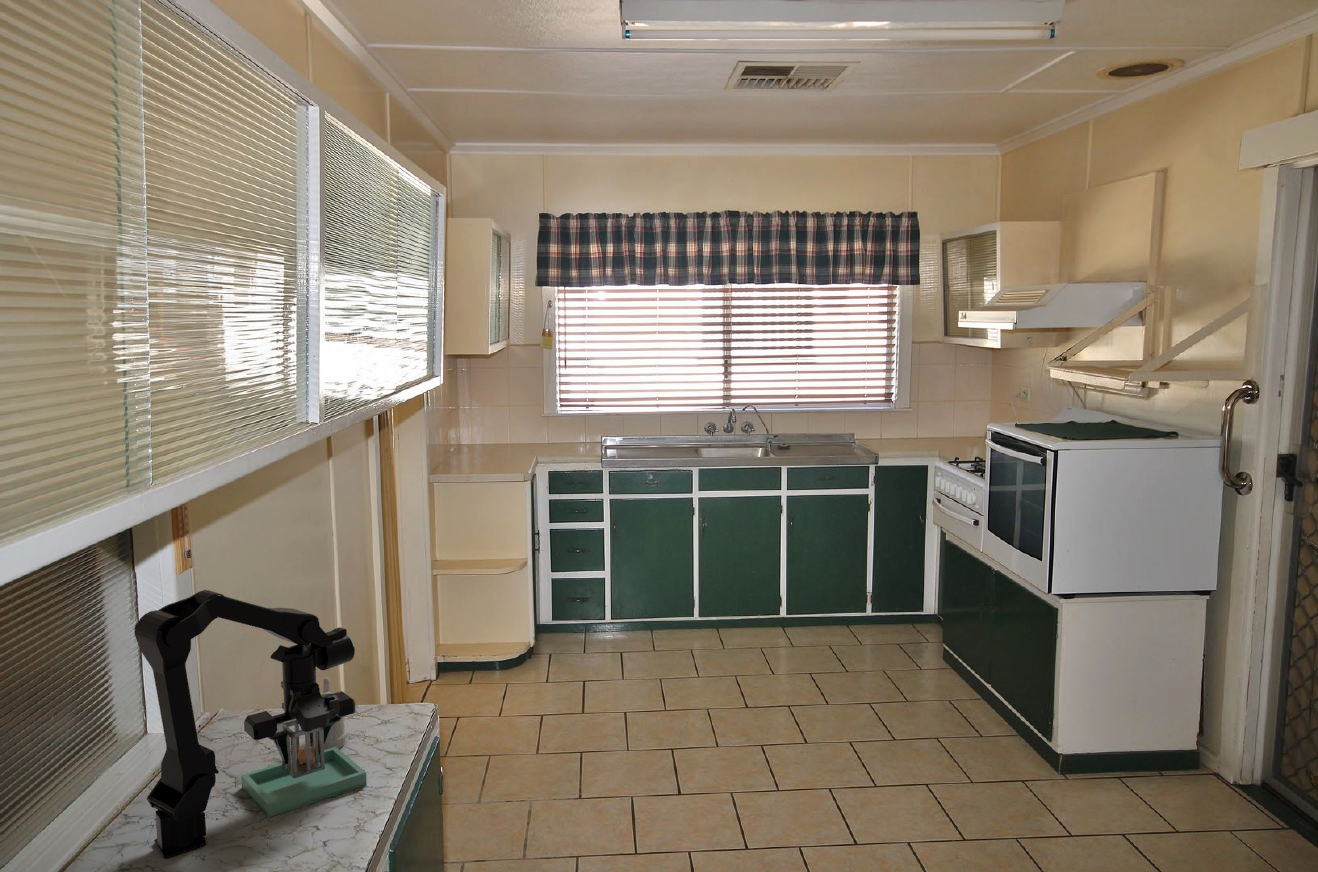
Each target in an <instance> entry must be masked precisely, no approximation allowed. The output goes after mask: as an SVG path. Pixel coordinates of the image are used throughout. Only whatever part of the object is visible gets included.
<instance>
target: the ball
mask: <svg viewBox="0 0 1318 872" xmlns="http://www.w3.org/2000/svg"><path fill="white" fill-rule="evenodd" d="M314 755H315V752H314V750H313V749H312V748H311V747H310V760H311V761H312V760H313V758H314ZM297 756H298V760H299V761H300V762H302V763H306V748H305V746H303V747H300V750H299V752H298V755H297Z"/></svg>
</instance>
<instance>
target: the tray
mask: <svg viewBox="0 0 1318 872" xmlns="http://www.w3.org/2000/svg"><path fill="white" fill-rule="evenodd" d="M314 757H315V755H314ZM324 758H325V769H323V770H320V771H317V772H314V773H310V774H307V775H304V776H301V777H297V778H294V779H293V778H292V777H291V776H290V775H289V774H288V773H287V772H286V771H285V770H284V769H283V768H282V762H280V763H277V764H273V765H270V766H266V767H263V768H260V769H257V770H253V771H251V772H246V773H243V774H241V775H240V778H241V789H242V790H243V791H244V792H245V793H246V794H247V796H248V797H250V799H251V801H253V802H254V803H255V805H257V806H258V808H259V809H260V810H261V811H262V812H263V813H264V814H265V816H266V817H267V818H272V817H275V816H278V815H281V814H285V813H287V812H290V811H293V810H297V809H299V808H302V807H305V806H308V805H312V804H315V803H317V802H321V801H323V800H326V799H329V798H331V797H335V796H338V795H341V794H344V793H347V792H349V791H350V792H351V791H353V790H355V789H359V788H362V787H365V786H367V785H368V783H367V771H365V770H364V769H363V768H361V766H359V765H358V764H357V763H356V762H354V760H352V759H351V758H350V757H348V756H347V755H346V754H345V752H343V751H341V750H340V748H337V747H333V748H329V749H326V750H324ZM291 762H292V759H291ZM319 762H320V755H319Z"/></svg>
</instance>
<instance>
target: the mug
mask: <svg viewBox="0 0 1318 872" xmlns="http://www.w3.org/2000/svg"><path fill="white" fill-rule="evenodd" d="M330 681H331V680H330V677H324V678H323V686H322V687H323V688H322V689H323V693H320V694H321V696H322V697H325V695H329V694H333V693H334V692H332V689H331V686H330V685H331V682H330ZM338 716H339V715H338ZM344 717H345V716H343V717H341V720H340V721H338V722H336V723H335V724H334V725H333V726H332V727H331V729H330V731H329V733H328V736H327V738H326V741H325V744H324V750H326V749H329V748H333V747H337V748H338V749H340V748H342V747H344V746H345V745H346V739H347V736H348V735H347V734H348V732H347V730H346V729H345V718H344ZM343 745H344V746H343ZM313 747H314V732H313Z"/></svg>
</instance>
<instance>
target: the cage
mask: <svg viewBox="0 0 1318 872" xmlns="http://www.w3.org/2000/svg"><path fill="white" fill-rule="evenodd" d="M290 727H294V730H292V729H291V728H290ZM283 730H284V731H285V732H286V733H287V734H288V735H287V738H286V742H287V750H288V764H285V763H284V761H283V759H282V757H281V756H280V757H281V763H282V768H283V769H284V770H285V771H286V772H287V773H288V774H289V775H290V776H291V777H292V778H293V779H294V778H297V777H301V776H304V775H307V774H310V773H314V772H317V771H320V770H323V769H325V758H324V731H323V728H322V727H320V728H317V729H313V730H312V731H309V732H305V731H303V730H302V729H300V725H299V723H298V721H294V722H290V723H287V724H283ZM318 731H319V741H318ZM313 732H314V747H313ZM301 736H304V743H305V746H304V747H305V748H306V763H302V762H300V761H299V760H298V756H297V755H298V752H299V750H300V749H301V747H300V745H301V744H300V737H301ZM319 744H320V762H319ZM310 747H311V748H312V749H313V750H314V753H315V757H314V758H313V760H312V761H311V760H310ZM291 760H292V762H291Z"/></svg>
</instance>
